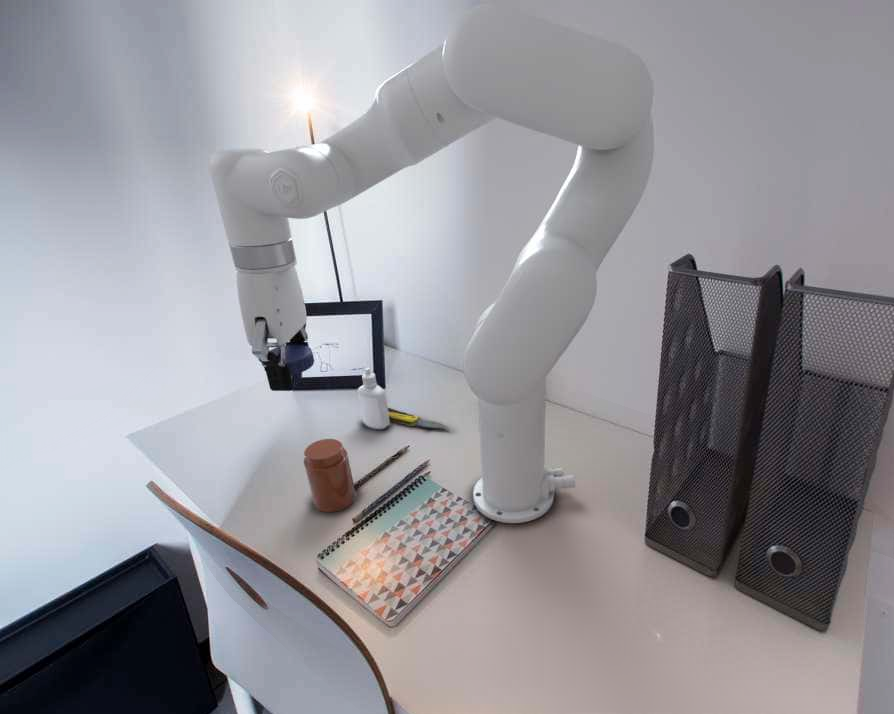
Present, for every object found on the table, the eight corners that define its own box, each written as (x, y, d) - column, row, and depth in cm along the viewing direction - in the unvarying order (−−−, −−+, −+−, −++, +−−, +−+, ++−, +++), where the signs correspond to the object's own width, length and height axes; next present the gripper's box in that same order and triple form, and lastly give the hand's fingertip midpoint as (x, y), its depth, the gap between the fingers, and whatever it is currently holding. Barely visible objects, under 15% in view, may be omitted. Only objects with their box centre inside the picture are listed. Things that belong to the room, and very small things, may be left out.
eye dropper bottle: (370, 433, 100) (360, 377, 94) (361, 420, 104) (351, 366, 99) (392, 427, 102) (383, 371, 96) (382, 414, 106) (374, 360, 100)
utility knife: (454, 420, 101) (447, 428, 99) (455, 426, 102) (447, 434, 99) (383, 405, 107) (374, 413, 105) (384, 411, 108) (375, 418, 105)
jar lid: (256, 375, 74) (252, 363, 73) (279, 355, 79) (276, 343, 78) (301, 377, 73) (299, 364, 72) (322, 356, 79) (319, 344, 78)
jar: (352, 482, 87) (342, 433, 83) (358, 505, 82) (348, 454, 78) (312, 492, 85) (299, 442, 81) (316, 516, 80) (302, 465, 76)
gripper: (263, 239, 76) (289, 353, 85) (200, 273, 61) (240, 407, 70) (315, 239, 76) (336, 353, 85) (264, 273, 61) (296, 408, 69)
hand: (292, 376), depth 77 cm, fingers closed on jar lid, 6 cm apart
